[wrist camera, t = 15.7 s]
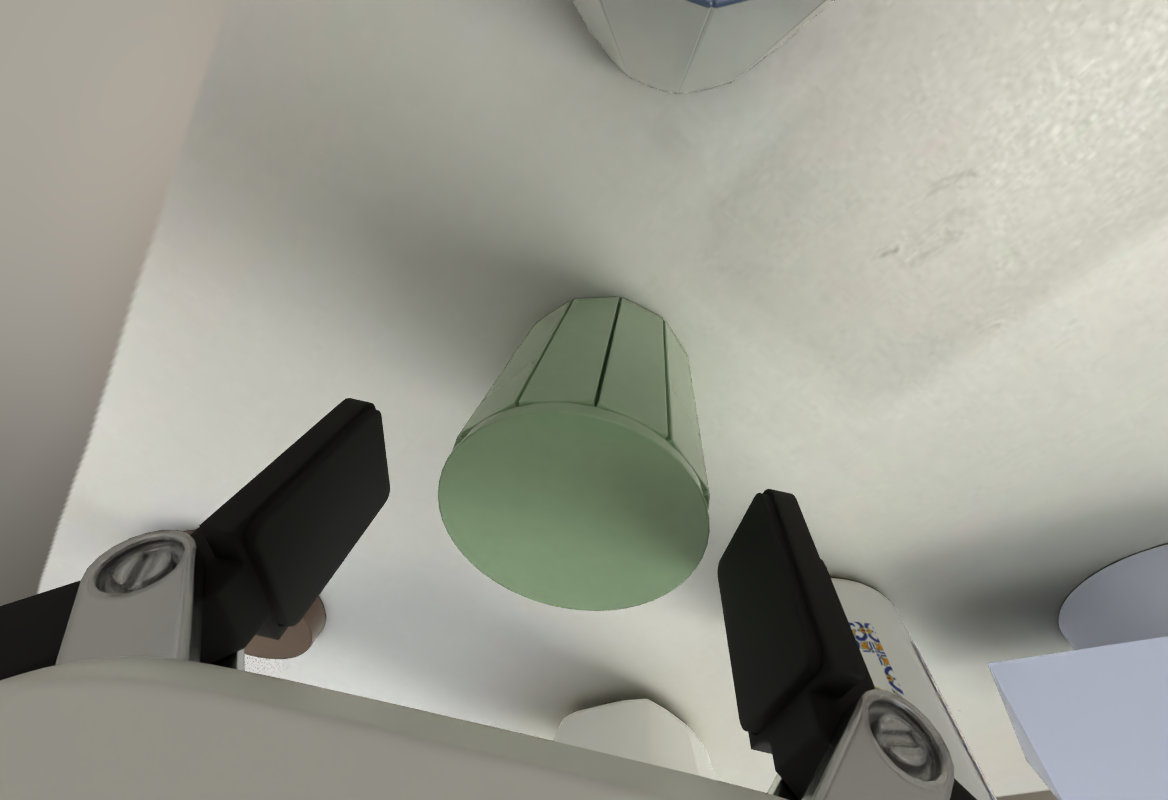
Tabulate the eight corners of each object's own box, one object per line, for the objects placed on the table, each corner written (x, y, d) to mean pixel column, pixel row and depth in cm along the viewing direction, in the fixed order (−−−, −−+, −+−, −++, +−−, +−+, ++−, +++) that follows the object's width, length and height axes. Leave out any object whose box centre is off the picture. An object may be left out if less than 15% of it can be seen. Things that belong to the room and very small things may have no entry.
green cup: (489, 353, 18) (383, 483, 11) (628, 260, 15) (606, 355, 8) (583, 467, 20) (545, 632, 13) (718, 404, 17) (759, 572, 10)
